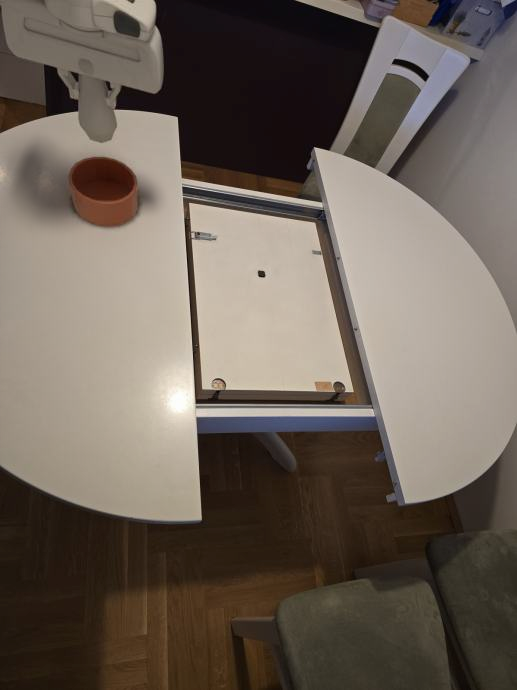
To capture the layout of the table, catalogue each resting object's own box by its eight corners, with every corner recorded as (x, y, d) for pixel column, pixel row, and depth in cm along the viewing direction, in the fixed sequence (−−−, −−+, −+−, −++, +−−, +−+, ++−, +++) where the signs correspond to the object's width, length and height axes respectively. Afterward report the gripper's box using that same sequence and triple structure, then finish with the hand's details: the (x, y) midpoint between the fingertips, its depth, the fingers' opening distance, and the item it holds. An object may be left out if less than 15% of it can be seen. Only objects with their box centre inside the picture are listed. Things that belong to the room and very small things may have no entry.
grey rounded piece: (111, 151, 64) (100, 67, 52) (75, 139, 63) (57, 52, 52) (123, 129, 66) (115, 45, 55) (89, 118, 66) (74, 31, 54)
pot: (66, 219, 75) (61, 195, 70) (81, 175, 81) (76, 150, 75) (132, 231, 78) (131, 209, 73) (141, 188, 83) (141, 165, 78)
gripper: (-23, -25, 44) (13, 95, 56) (161, 31, 49) (158, 131, 61) (-5, -50, 47) (25, 70, 59) (168, 6, 51) (163, 106, 63)
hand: (94, 101), depth 60 cm, fingers closed on grey rounded piece, 3 cm apart
